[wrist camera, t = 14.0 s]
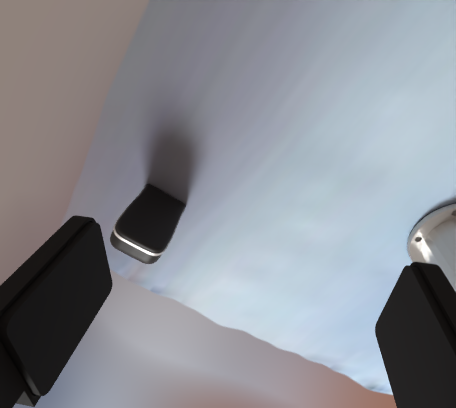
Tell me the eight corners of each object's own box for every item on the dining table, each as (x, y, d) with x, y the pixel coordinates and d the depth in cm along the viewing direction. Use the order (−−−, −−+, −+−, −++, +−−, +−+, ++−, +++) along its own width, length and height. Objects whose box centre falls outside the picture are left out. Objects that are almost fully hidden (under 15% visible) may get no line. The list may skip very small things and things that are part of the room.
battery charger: (138, 199, 46) (100, 247, 37) (147, 181, 44) (110, 227, 35) (178, 221, 48) (152, 273, 38) (188, 204, 46) (164, 255, 36)
